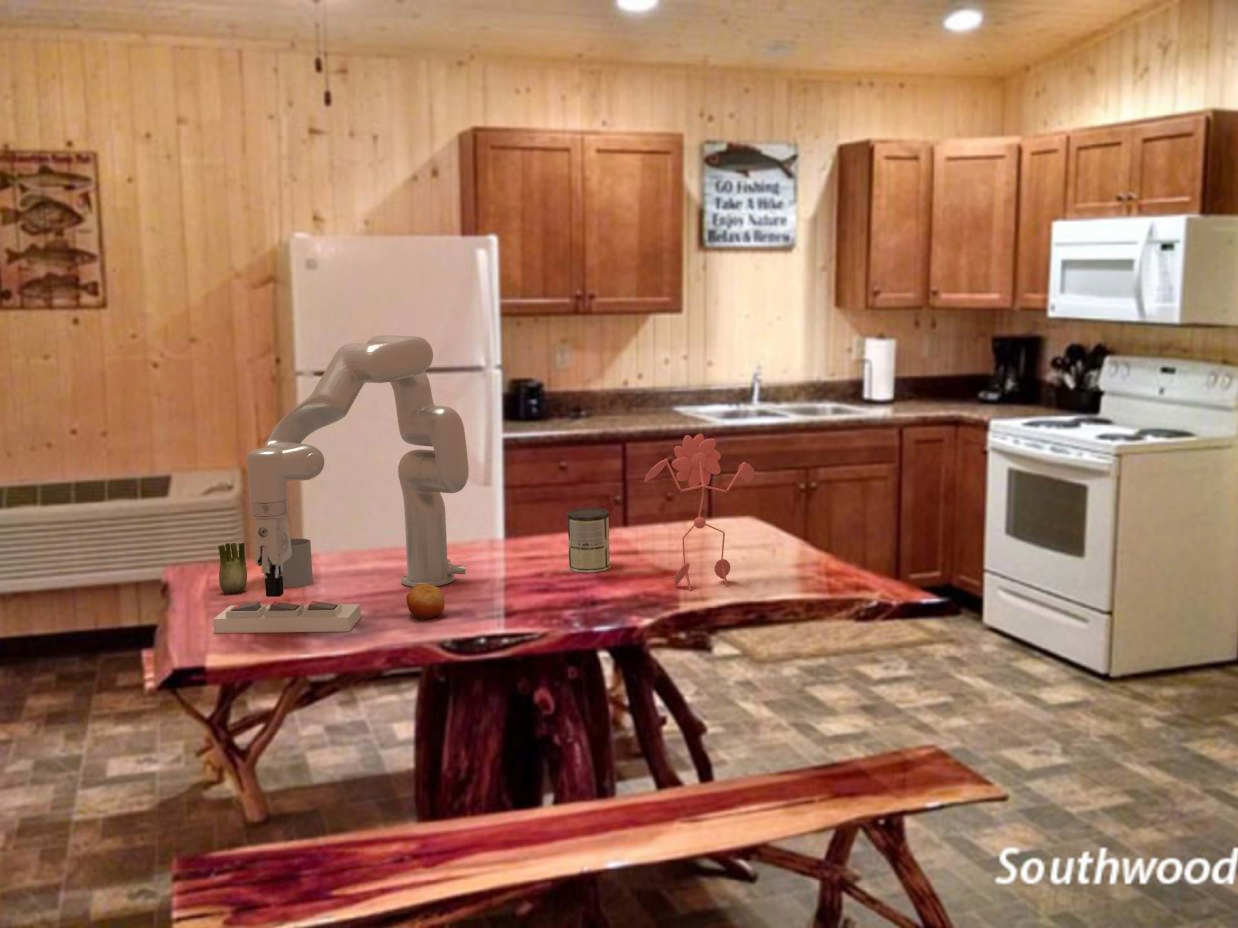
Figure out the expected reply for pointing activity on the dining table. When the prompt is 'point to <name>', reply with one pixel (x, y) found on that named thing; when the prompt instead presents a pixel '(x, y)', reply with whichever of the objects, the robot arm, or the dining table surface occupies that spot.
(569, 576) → the dining table surface
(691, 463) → the figurine
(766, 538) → the dining table surface
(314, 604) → the rocker
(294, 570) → the cup
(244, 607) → the rocker
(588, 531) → the coffee can
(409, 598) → the fruit
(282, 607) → the rocker middle
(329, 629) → the power strip
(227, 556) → the fennel bulb
